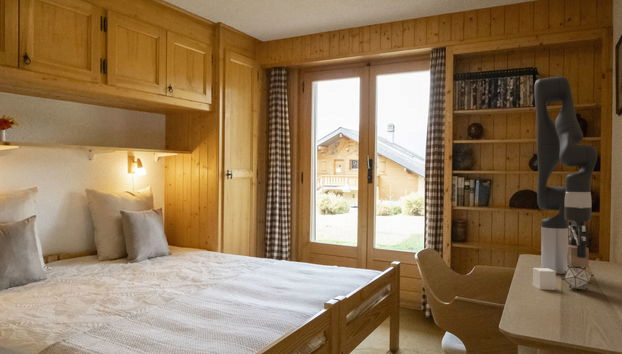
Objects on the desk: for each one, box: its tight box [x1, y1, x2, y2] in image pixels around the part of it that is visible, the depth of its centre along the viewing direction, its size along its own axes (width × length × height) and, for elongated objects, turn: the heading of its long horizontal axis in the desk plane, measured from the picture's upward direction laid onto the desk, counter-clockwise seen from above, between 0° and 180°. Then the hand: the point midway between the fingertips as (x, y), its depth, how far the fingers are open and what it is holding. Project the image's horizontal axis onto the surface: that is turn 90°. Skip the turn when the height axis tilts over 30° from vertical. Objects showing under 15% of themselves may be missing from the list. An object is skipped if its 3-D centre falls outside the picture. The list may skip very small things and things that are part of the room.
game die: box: [561, 264, 595, 292], centre depth 142 cm, size 9×8×10 cm
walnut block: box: [567, 244, 590, 268], centre depth 142 cm, size 5×5×6 cm
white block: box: [532, 267, 557, 291], centre depth 144 cm, size 5×5×6 cm
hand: (577, 255), depth 142 cm, fingers open, 8 cm apart
